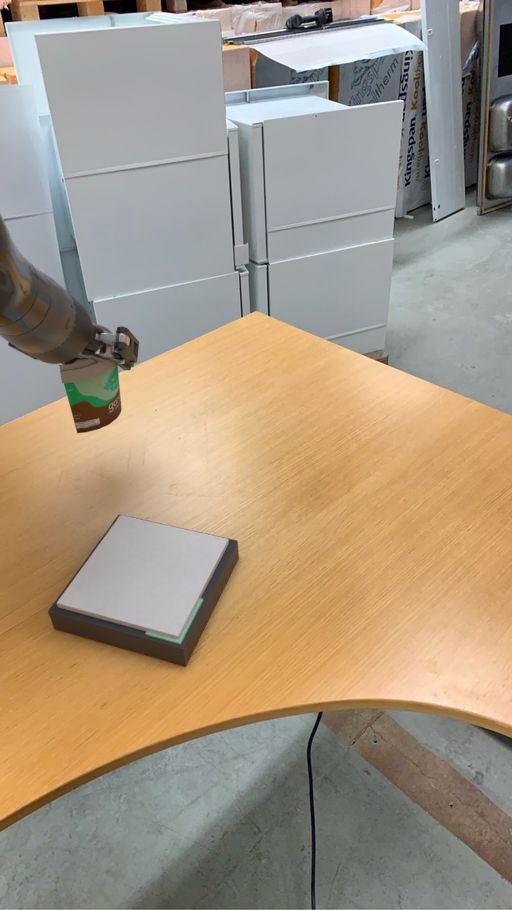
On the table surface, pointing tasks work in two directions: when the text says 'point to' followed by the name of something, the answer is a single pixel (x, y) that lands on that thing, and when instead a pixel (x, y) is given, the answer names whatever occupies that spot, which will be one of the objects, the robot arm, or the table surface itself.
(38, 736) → the table surface
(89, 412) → the food container
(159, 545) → the scale
